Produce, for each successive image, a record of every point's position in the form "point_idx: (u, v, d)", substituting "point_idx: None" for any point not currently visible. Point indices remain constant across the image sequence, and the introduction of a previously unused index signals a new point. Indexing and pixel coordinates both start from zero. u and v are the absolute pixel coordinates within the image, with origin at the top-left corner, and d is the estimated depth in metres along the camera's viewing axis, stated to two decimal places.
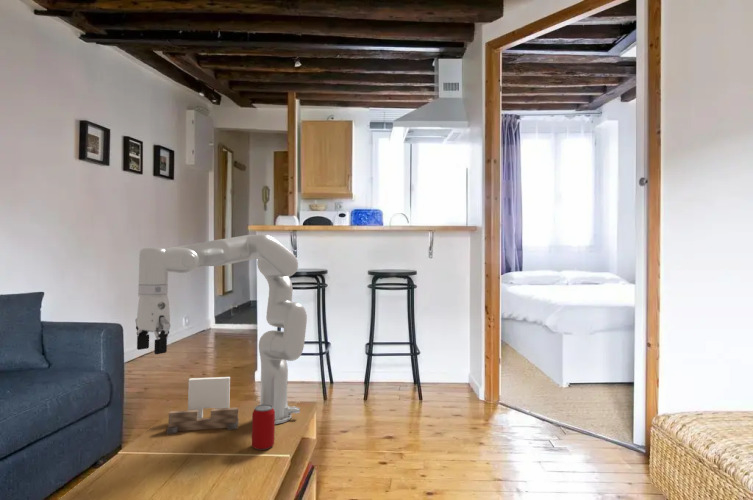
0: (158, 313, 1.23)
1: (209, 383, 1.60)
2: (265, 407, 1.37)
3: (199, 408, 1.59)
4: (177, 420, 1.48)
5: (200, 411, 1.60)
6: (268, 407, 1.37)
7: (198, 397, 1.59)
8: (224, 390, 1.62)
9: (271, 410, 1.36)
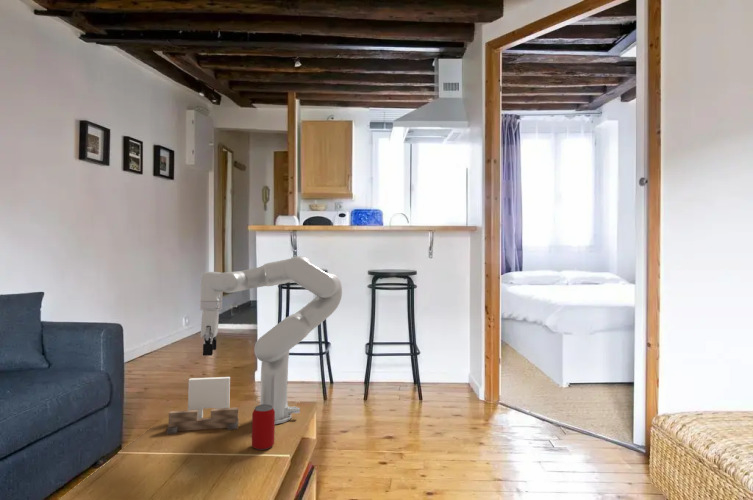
0: None
1: (209, 383, 1.60)
2: (265, 407, 1.37)
3: (199, 408, 1.59)
4: (177, 420, 1.48)
5: (200, 411, 1.60)
6: (268, 407, 1.37)
7: (198, 397, 1.59)
8: (224, 390, 1.61)
9: (271, 410, 1.36)
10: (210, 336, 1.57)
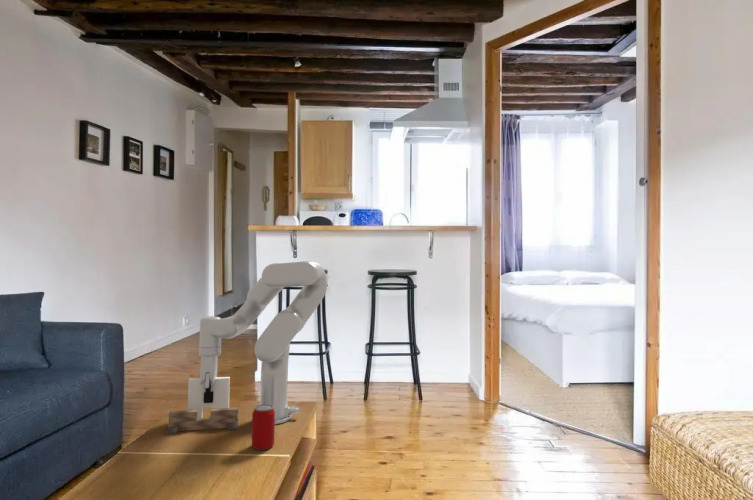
0: None
1: None
2: (265, 407, 1.37)
3: (199, 408, 1.59)
4: (177, 420, 1.48)
5: (200, 411, 1.60)
6: (268, 407, 1.37)
7: (198, 397, 1.59)
8: (224, 390, 1.61)
9: (271, 410, 1.36)
10: (210, 384, 1.59)
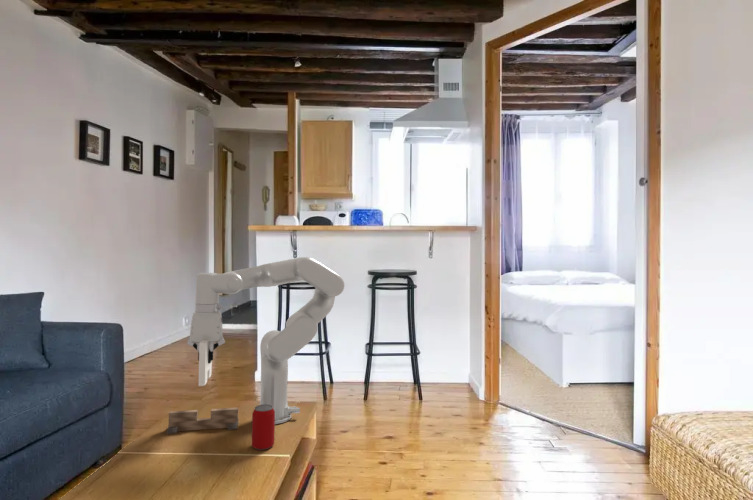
0: (221, 326, 1.52)
1: None
2: (265, 407, 1.37)
3: None
4: (177, 420, 1.48)
5: None
6: (268, 407, 1.37)
7: None
8: None
9: (271, 410, 1.36)
10: None
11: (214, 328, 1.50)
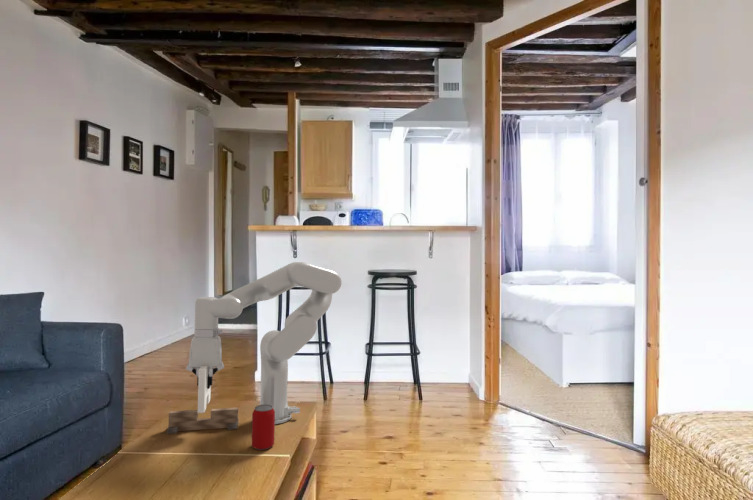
0: (220, 351, 1.51)
1: None
2: (265, 407, 1.37)
3: None
4: (177, 420, 1.48)
5: None
6: (268, 407, 1.37)
7: None
8: None
9: (271, 410, 1.36)
10: None
11: (213, 353, 1.49)
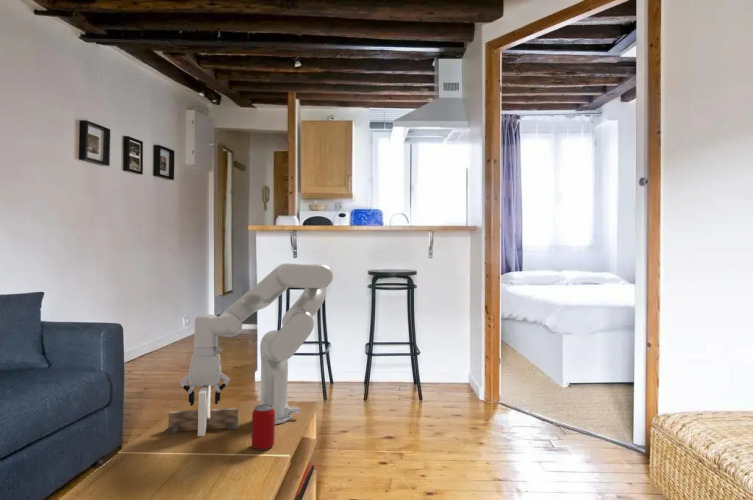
0: (220, 369, 1.51)
1: None
2: (265, 407, 1.37)
3: None
4: (177, 420, 1.48)
5: None
6: (268, 407, 1.37)
7: None
8: None
9: (271, 410, 1.36)
10: None
11: (213, 371, 1.49)
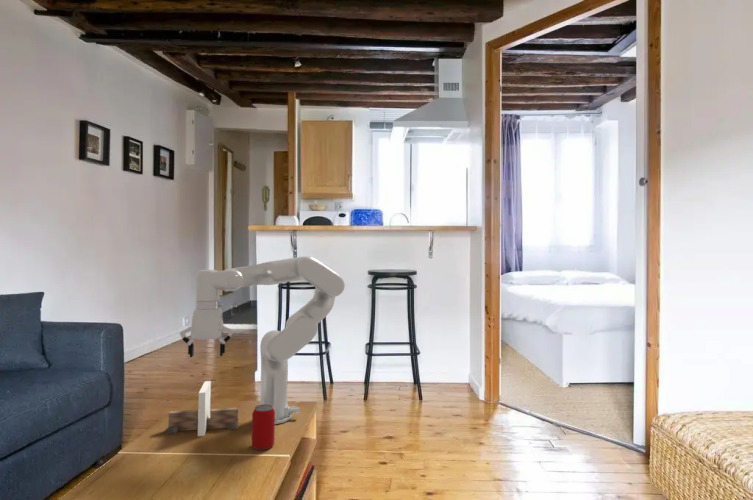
0: (222, 323, 1.52)
1: None
2: (265, 407, 1.37)
3: None
4: (177, 420, 1.48)
5: None
6: (268, 407, 1.37)
7: None
8: None
9: (271, 410, 1.36)
10: None
11: (215, 325, 1.50)
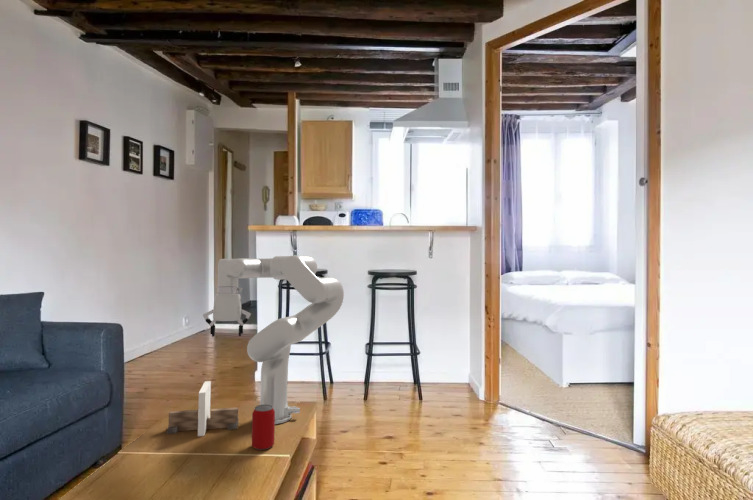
0: (240, 306, 1.69)
1: None
2: (265, 407, 1.37)
3: None
4: (177, 420, 1.48)
5: None
6: (268, 407, 1.37)
7: None
8: None
9: (271, 410, 1.36)
10: (214, 318, 1.67)
11: (234, 308, 1.67)
